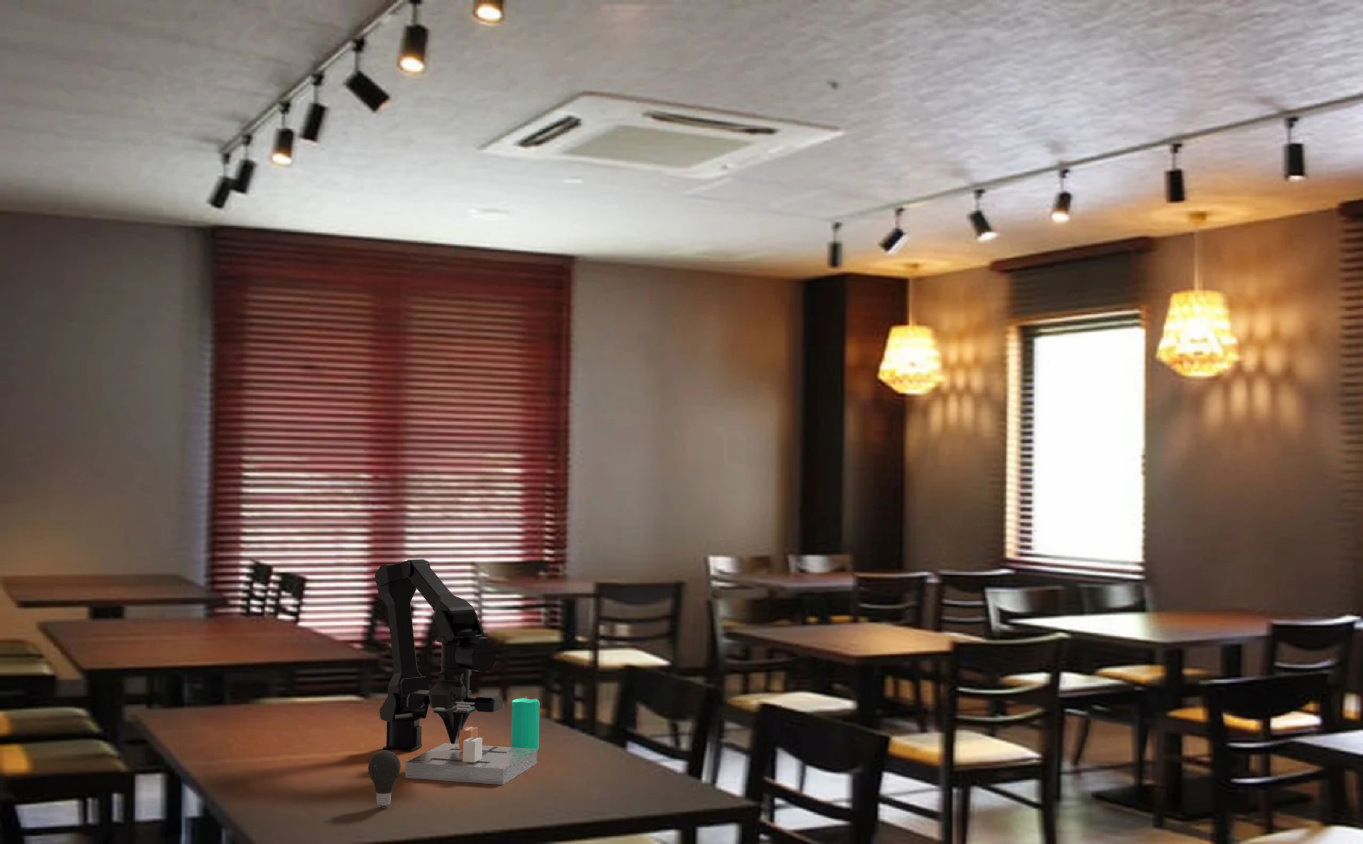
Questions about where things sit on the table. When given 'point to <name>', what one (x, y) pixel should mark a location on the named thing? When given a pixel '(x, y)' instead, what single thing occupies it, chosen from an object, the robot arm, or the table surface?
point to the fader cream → (472, 749)
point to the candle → (525, 723)
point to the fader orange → (467, 735)
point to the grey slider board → (471, 764)
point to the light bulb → (384, 775)
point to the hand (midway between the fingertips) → (453, 743)
